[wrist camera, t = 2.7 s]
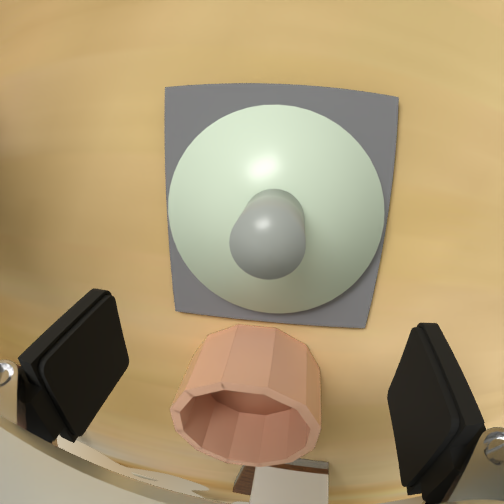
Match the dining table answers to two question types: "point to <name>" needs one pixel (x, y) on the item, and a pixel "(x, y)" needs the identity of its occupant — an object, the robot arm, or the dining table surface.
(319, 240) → the lid
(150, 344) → the dining table surface
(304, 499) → the grey two-tier tower
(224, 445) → the bowl
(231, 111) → the mat
